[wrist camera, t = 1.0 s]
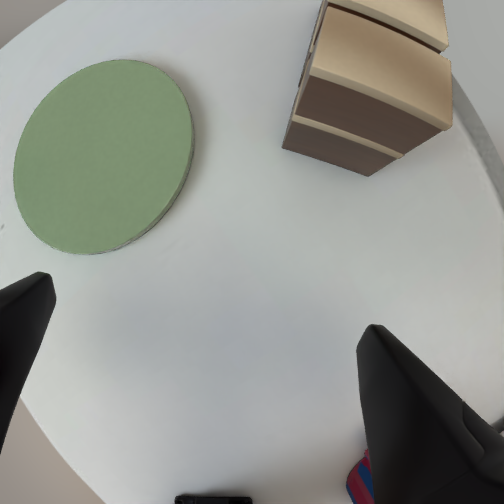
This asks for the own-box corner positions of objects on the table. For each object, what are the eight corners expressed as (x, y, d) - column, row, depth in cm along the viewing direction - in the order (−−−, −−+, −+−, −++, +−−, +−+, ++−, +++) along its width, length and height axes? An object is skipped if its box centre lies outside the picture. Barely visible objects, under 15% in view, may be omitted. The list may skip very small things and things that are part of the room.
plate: (195, 249, 20) (193, 249, 19) (16, 258, 19) (9, 258, 18) (196, 53, 20) (195, 46, 19) (35, 88, 20) (29, 83, 19)
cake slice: (368, 177, 20) (452, 126, 10) (280, 148, 20) (311, 65, 10) (377, 128, 21) (451, 60, 11) (294, 99, 20) (327, 5, 10)
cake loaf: (378, 116, 21) (449, 46, 11) (297, 87, 20) (330, -8, 10) (387, 31, 21) (434, -38, 11) (319, 6, 21) (347, -75, 11)
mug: (354, 508, 20) (377, 555, 13) (326, 442, 20) (352, 496, 13) (417, 475, 20) (450, 514, 14) (402, 403, 20) (447, 443, 14)
